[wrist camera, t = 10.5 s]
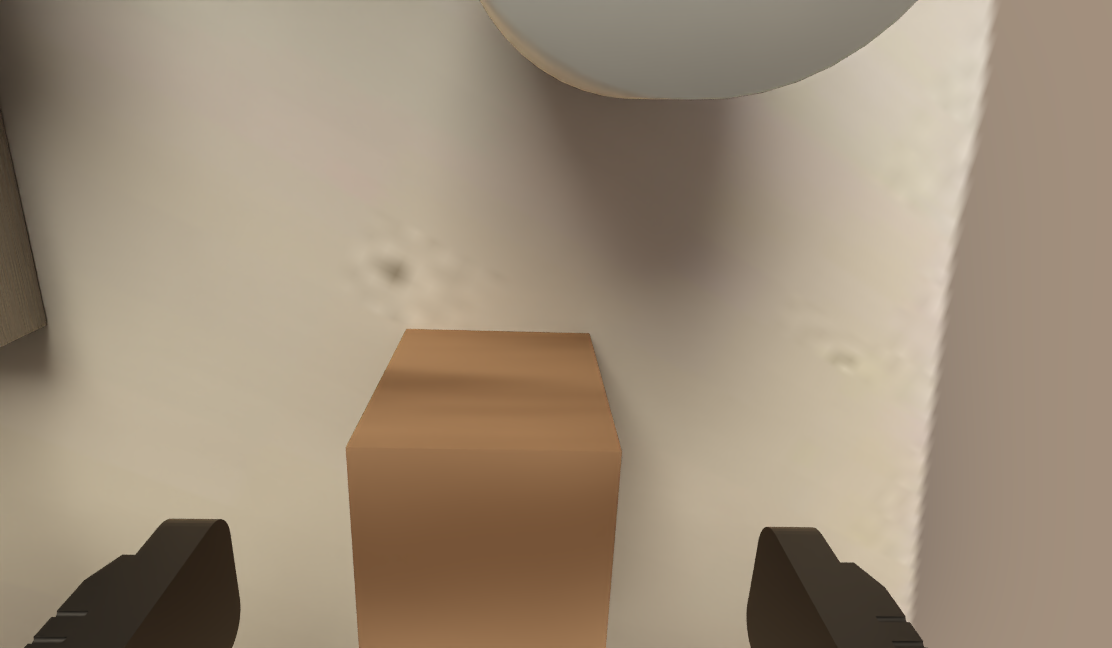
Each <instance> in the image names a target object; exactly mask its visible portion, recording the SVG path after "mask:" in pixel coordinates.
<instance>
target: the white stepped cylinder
mask: <svg viewBox="0 0 1112 648" xmlns="http://www.w3.org/2000/svg"><path fill="white" fill-rule="evenodd" d="M916 1H917V0H480V2H481V3H482V5H483V7H484V9H485V10H486V12H487V14H488V15H489V17H490V19H491V20H492V21H493V22H494V24H495V25H496V26H497V28H498V29H499V30H500V32H501V33H502V34H503V36H504V37H505V38H506V39H507V40H508V41H509V42H510V43H511V44H512V45H513V46H514V47H515V48H516V49H517V50H518V51H519V52H520V53H521V54H522V55H523V56H524V57H525V58H527V59H528V60H529V61H530V62H532V63H533V64H534V65H536V66H537V67H538V68H539V69H541V70H542V71H544V72H546V73H547V74H549V75H551V76H552V77H554V78H556V79H558V80H559V81H561V82H563V83H566V84H568V85H570V86H573V87H575V88H578V89H580V90H583V91H586V92H590V93H594V94H598V95H602V96H606V97H615V98H624V99H673V100H699V99H728V98H734V97H740V96H746V95H752V94H758V93H763V92H766V91H770V90H773V89H776V88H779V87H783V86H786V85H789V84H792V83H796V82H798V81H801V80H803V79H805V78H807V77H809V76H812V75H814V74H816V73H818V72H820V71H823V70H825V69H827V68H829V67H831V66H833V65H835V64H837V63H838V62H840V61H841V60H843V59H845V58H846V57H848V56H849V55H851V54H853V53H854V52H856V51H858V50H859V49H861V48H862V47H864V46H866V45H867V44H868V43H870V42H871V41H872V40H873V39H875V38H876V37H877V36H878V35H880V34H881V33H882V32H883V31H885V30H886V29H887V28H888V27H890V26H891V25H892V24H893V23H895V22H896V21H897V20H898V19H899V18H900V17H901V16H902V15H903V14H904V13H905V12H906V11H907V10H908V9H909V8H910V7H911V6H912V5H913V4H914V3H915V2H916Z"/></svg>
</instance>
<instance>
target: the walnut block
mask: <svg viewBox="0 0 1112 648" xmlns="http://www.w3.org/2000/svg"><path fill="white" fill-rule="evenodd" d="M621 456H622V450H621V447H620V443H619V439H618V436H617V432H616V428H615V425H614V421H613V418H612V414H611V410H610V407H609V403H608V399H607V396H606V392H605V388H604V385H603V381H602V378H601V374H600V370H599V367H598V363H597V359H596V356H595V352H594V349H593V345H592V341H591V338H590V334H589V333H550V332H509V331H468V330H427V329H406V331H405V333H404V335H403V337H402V339H401V341H400V343H399V345H398V346H397V348H396V350H395V352H394V354H393V356H392V358H391V360H390V362H389V364H388V366H387V368H386V370H385V372H384V374H383V376H382V378H381V380H380V382H379V384H378V386H377V388H376V389H375V391H374V393H373V395H372V397H371V399H370V401H369V403H368V405H367V407H366V409H365V411H364V413H363V415H362V417H361V419H360V421H359V423H358V425H357V427H356V429H355V431H354V432H353V434H352V436H351V438H350V440H349V442H348V444H347V446H346V458H347V473H348V488H349V503H350V518H351V533H352V549H353V564H354V579H355V594H356V609H357V624H358V639H359V648H606V637H607V625H608V613H609V601H610V589H611V577H612V565H613V553H614V541H615V529H616V516H617V504H618V492H619V480H620V468H621Z"/></svg>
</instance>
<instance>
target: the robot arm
mask: <svg viewBox="0 0 1112 648" xmlns="http://www.w3.org/2000/svg"><path fill="white" fill-rule="evenodd" d="M905 617H906V616H905V615H904V614H903V612H902V611H901V609H900V608H899V607H898V605H897V604H896V602H895V601H894V600H893V598H892V597H891V595H890V594H889V593H888V591H887V590H886V588H885V587H884V586H882V585H881V584H880V583H879V582H877V581H876V580H875V579H874V578H872V577H871V576H870V575H869V574H867V573H866V572H865V571H864V570H862V569H861V568H860V567H859V566H857V565H856V564H855V563H840V562H839V560H838V559H837V557H836V556H835V554H834V552H833V551H832V549H831V548H830V546H829V545H828V543H827V542H826V540H825V539H824V537H823V536H822V534H821V533H820V532H819V531H818V530H817V529H816V528H812V527H765V528H764V529H763V530H762V532H761V534H760V537H759V541H758V547H757V553H756V558H755V564H754V570H753V576H752V581H751V587H750V593H749V598H748V604H747V630H748V637H749V642H750V646H751V648H924V646H923V641H922V639H921V638H920V636H919V635H918V633H917V632H916V631H915V629H914V628H913V626H912V625H911V623H910V622H906V619H905ZM239 620H240V597H239V590H238V583H237V576H236V569H235V562H234V555H233V548H232V542H231V535H230V529H229V526H228V524H227V523H226V522H225V521H224V520H222V519H168V520H166V521H164V522H163V523H162V524H161V525H160V526H159V527H158V528H157V529H156V531H155V532H154V533H153V534H152V535H151V537H150V538H149V539H148V540H147V541H146V543H145V544H144V545H143V546H142V547H141V549H140V550H139V551H138V552H137V553H136V555H121V556H120V557H118V558H117V559H115V560H114V561H112V562H111V563H109V564H108V565H106V566H105V567H103V568H102V569H100V570H99V571H97V572H96V573H94V574H93V575H91V576H90V577H89V578H87V579H86V580H84V581H83V582H82V583H81V585H80V586H79V587H78V588H77V589H76V590H75V591H74V592H73V594H72V595H71V596H70V597H69V598H68V599H67V600H66V601H65V603H64V604H63V605H62V606H61V607H60V608H59V609H58V610H57V615H56V617H51V618H50V619H49V620H48V622H47V623H46V624H45V625H44V626H43V627H42V628H41V629H40V631H39V632H38V633H37V634H36V635H35V636H34V640H33V643H32V644H27V645H26V646H25V647H24V648H232V646H233V644H234V641H235V638H236V635H237V631H238V626H239Z"/></svg>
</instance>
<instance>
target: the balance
mask: <svg viewBox="0 0 1112 648" xmlns="http://www.w3.org/2000/svg"><path fill="white" fill-rule="evenodd" d="M46 325H47V323H46V318H45V313H44V309H43V304H42V299H41V295H40V290H39V286H38V281H37V276H36V272H35V267H34V263H33V258H32V253H31V249H30V244H29V240H28V235H27V230H26V226H25V221H24V216H23V212H22V207H21V203H20V198H19V193H18V189H17V184H16V180H15V175H14V170H13V166H12V161H11V157H10V152H9V147H8V143H7V138H6V133H5V129H4V124H3V120H2V115H1V110H0V347H2V346H4V345H6V344H8V343H10V342H12V341H15V340H17V339H19V338H21V337H23V336H25V335H27V334H29V333H31V332H33V331H36V330H38V329H40V328H42V327H44V326H46Z"/></svg>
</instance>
